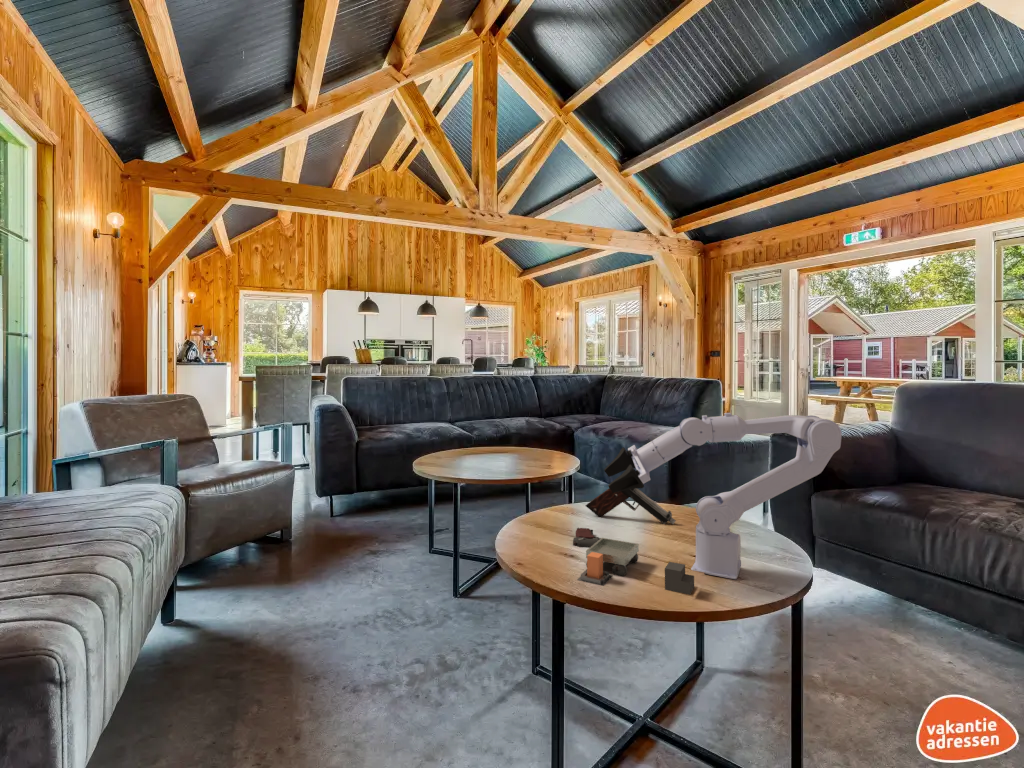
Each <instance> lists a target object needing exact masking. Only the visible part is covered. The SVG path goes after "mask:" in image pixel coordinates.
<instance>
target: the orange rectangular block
mask: <svg viewBox="0 0 1024 768" xmlns="http://www.w3.org/2000/svg"><path fill="white" fill-rule="evenodd" d="M586 563H587V566H586V569H587V576H589V577H594V578H599V579H600V578H601V577H602V576H603V571H604V561H603V554H600V553H595V552H591V553H590V554H589V555H587V558H586Z"/></svg>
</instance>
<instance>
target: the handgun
mask: <svg viewBox="0 0 1024 768" xmlns="http://www.w3.org/2000/svg"><path fill="white" fill-rule="evenodd" d="M629 498H630V499H631V500H632V501H633V503H632V504H631V503H629V502H628V501H627V499H629ZM622 503H623V504H625V505H626V506H627V507H628V508H629V509H630V510H632V511H634V512H635V511H636V510H637V509H638V508H639V507H642V508H643V509H644V510H645V511H646V512H648V513H649V514H650V515H652V516H653V517H654V518H655V519H657V520H658V521H659V522H660V523H662V524H663V525H666V523H668V522H669V523H670V524H671V525H674V524H675V523H676V519H675V518H673V514H672V511H671V510H668V511H667V510H665V509H664V508H663V507H662V506H660V505H659V504H658V503H657V502H655V501H654V500H653V499H651V498H650V497H649V496H648V495H646V493H644V492H643V491H642V490H640V488H632V489H626V490H623V491H619V492H615V493H613V492H612V491H611V490H610V488H609V487H608V488H607V489H606V490H605V491H603V492H602V493H601V494H599V495H598V496H596V497H594V498H593V499H591V501H589V502H587V504H585V507H586V508H587V509H589V511H591V512H592V513H593V514H594V515H596V516H597V517H598V518H599V517H601V518H602V517H603V516H605V515H606V514H608V513H609V512H611V511H612V510H614V509H615V508H616V507H618V506H620V505H621V504H622ZM636 503H637V505H636V506H635V507H634V505H635V504H636Z"/></svg>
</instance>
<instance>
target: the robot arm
mask: <svg viewBox="0 0 1024 768" xmlns="http://www.w3.org/2000/svg"><path fill="white" fill-rule="evenodd" d="M782 433H783V434H788V435H791V436H793V437H796V441H797V447H796V454H795V457H794V458H792V459H790V460H789V461H787V462H784V463H782V464H780V465H779V466H776V467H774V468H772V469H771V470H768V471H767V472H765V473H763V474H761V475H759V476H758V477H756V478H753V479H751V480H750V481H748V482H746V483H744V484H743V485H740V486H738V487H736V488H735V489H732V490H731V491H724V492H720V493H717V494H716V495H706V496H704V497H702V498H700V499H699V500H698V501H697V503H696V506H695V512H696V515H697V517H698V518H699V521H698V523H697V524H696V526H695V561H694V563H693V565H692V566H691V568H690V570H691V571H695V572H699V573H704V575H705V574H706V575H709V576H717V577H721V578H727V579H731V580H737V579H738V576H739V573H740V571H741V568H742V560H741V558H742V557H741V554H742V553H741V549H742V548H741V547H742V546H741V545H742V544H741V535H740V534H739V533H735V532H732V531H731V529H730V527H731V526H732V525H733V524H734V523H735V522H737V521H739V520H740V519H741V517H742V516H743V514H744V513H745V512H748V511H749V510H751V509H753V508H755V507H757V506H758V505H759V506H760V505H762V504H763V503H765V502H767V501H769V500H771V499H773V498H775V497H777V496H779V495H781V494H783V493H784V492H787V491H788V490H791V489H792V488H794V487H797V486H799V485H800V484H803V483H804V482H807V481H808V480H810V479H812V478H814V477H817V476H818V475H820V474H822V472H823V471H824V469H825V468H826V466H827V464H828V463H829V461H830V460H831V458H832V457H833V455H834V454H835V453H836V452H837V451H839V450H840V449H841V445H842V434H843V433H842V429H841V428H840V425H838V424H837V422H834V421H833V420H831V419H828V418H826V419H825V418H821V417H819V416H817V415H799V414H795V415H794V414H790V415H786V414H785V415H777V416H771V417H769V416H768V417H758V418H751V419H743V418H741V417H740V416H739V415H737V414H732V413H731V412H724V413H723V415H719V416H717V415H716V416H708V415H707V414H705V415H704V414H703V415H701V419H700V418H698V417H694V416H693V417H692V416H691V417H688V418H684V419H682V420H681V422H680V423H679V425H678V426H675V427H674V428H672V429H671V430H668V431H665V432H664V433H663V434H661V435H659V436H658V437H656V438H654V439H652V440H651V441H650V442H648V443H646V444H644V445H642V446H641V447H639V448H637V446H636V445H635V444H633V445H632V446H630V447H628V448H627V450H626V449H625V447H622V448H621V449H620V450H619V452H618V454H617V455H616V457H615V458H614V459H612V461H611V462H609V464H608V465H607V466H606V467H605V468H604V469H603V471H604V472H605V474H606V475H607V477H609V478H610V477H613V476H615V475H618V474H620V473H621V472H622V473H621V474H620V475H619V476H617V478H615V479H613V480H612V481H611V482H609V484H608V489H609V488H610V490H611V491H612V492H613V493H615V492H619V491H623V490H626V489H632V488H638V489H643V488H644V487H645V485H644V484H645V483H647V482H650V481H651V477H650V472H651V471H653V470H655V469H657V468H659V467H660V466H662V465H664V464H665V463H667V462H669V461H670V460H672V459H674V458H676V457H677V456H679V455H682V454H683V453H684V452H685V451H686V450H688V449H690V448H692V447H693V446H698V447H700V446H702V445H704V444H706V443H707V442H709V443H723V442H725V443H726V442H738V441H741V440H742V438H743V437H744V436H746V435H758V434H759V435H761V434H782Z"/></svg>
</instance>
